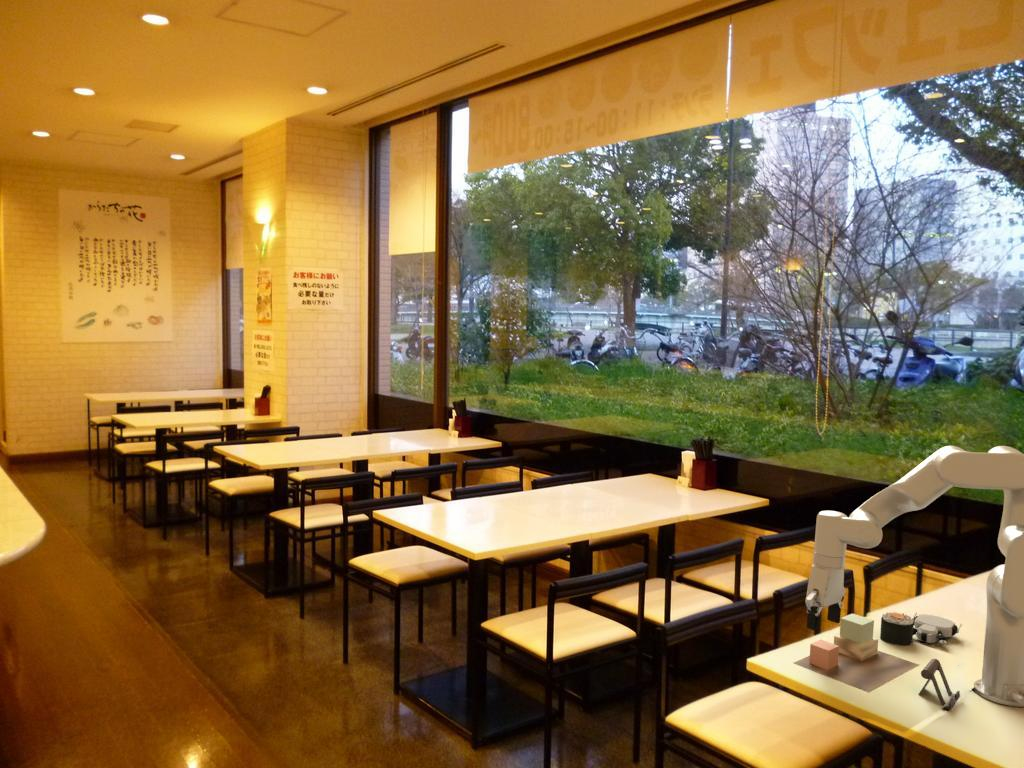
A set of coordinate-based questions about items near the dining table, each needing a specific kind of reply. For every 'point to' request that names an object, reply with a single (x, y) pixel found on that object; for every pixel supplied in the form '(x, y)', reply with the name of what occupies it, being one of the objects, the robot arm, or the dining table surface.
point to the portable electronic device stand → (929, 674)
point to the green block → (856, 628)
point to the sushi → (897, 629)
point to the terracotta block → (824, 654)
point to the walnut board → (863, 670)
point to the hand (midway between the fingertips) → (823, 625)
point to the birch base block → (856, 647)
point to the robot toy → (933, 628)
